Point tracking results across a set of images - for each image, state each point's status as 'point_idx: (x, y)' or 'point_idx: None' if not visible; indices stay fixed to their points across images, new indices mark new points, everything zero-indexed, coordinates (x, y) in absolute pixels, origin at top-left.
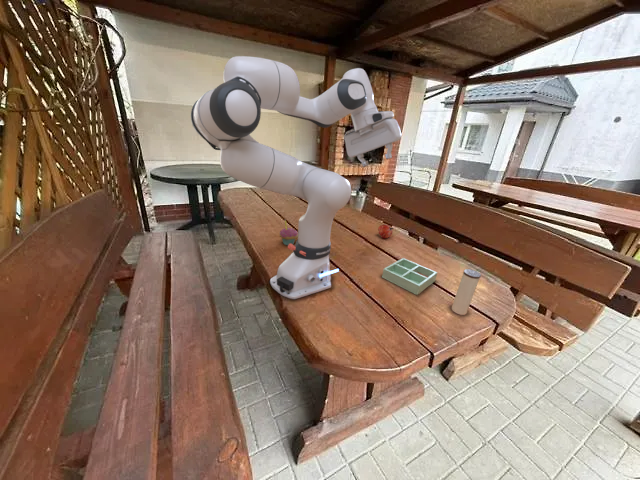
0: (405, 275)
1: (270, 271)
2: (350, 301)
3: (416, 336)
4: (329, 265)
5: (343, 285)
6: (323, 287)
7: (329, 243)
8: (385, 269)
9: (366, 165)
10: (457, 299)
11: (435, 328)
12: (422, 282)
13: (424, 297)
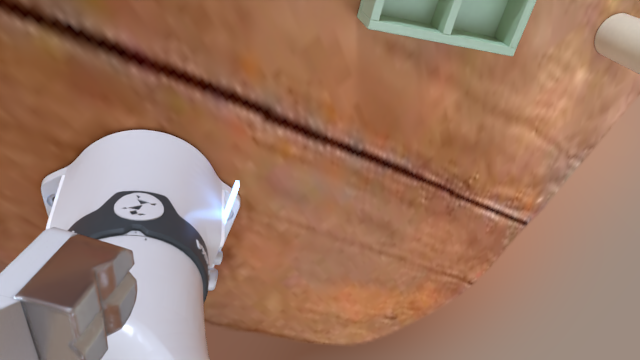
0: (457, 11)
1: None
2: (323, 207)
3: (500, 206)
4: (224, 236)
5: (264, 160)
6: (230, 226)
7: (192, 260)
8: (376, 28)
9: (133, 306)
10: (627, 67)
11: (542, 154)
12: (522, 23)
13: None
